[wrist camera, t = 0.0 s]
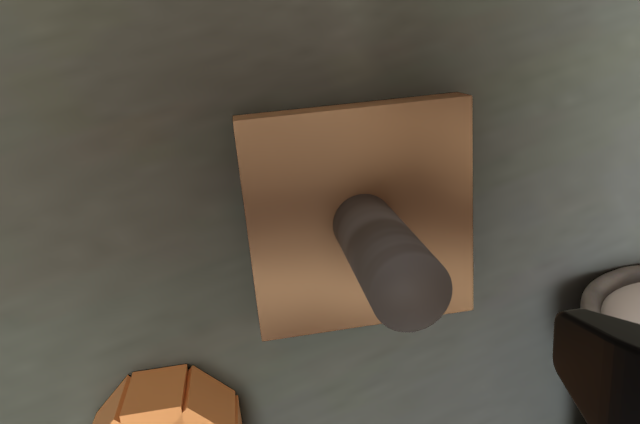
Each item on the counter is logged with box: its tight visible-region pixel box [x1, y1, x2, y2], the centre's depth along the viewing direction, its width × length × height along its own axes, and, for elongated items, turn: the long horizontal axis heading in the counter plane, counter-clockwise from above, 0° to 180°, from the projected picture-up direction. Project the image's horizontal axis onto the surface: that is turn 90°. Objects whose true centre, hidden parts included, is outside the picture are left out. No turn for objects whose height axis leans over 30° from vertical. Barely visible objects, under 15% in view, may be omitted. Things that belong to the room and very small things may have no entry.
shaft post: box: [233, 92, 473, 341], centre depth 20 cm, size 9×9×8 cm
